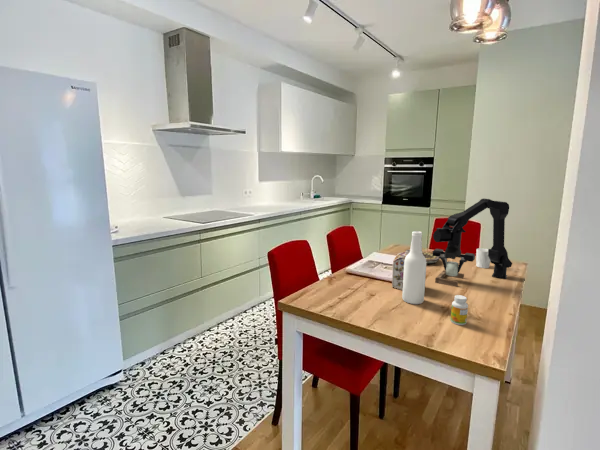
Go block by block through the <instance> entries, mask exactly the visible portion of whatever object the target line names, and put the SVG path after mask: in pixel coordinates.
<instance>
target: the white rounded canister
mask: <svg viewBox="0 0 600 450" xmlns="http://www.w3.org/2000/svg"><path fill="white" fill-rule="evenodd" d="M458 267H459V262H457V261H452V260H451V261H450V260H449V261H448V260H447V263H446V275H449V276H448V277H450V276H458Z"/></svg>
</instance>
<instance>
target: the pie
mask: <svg viewBox="0 0 600 450" xmlns="http://www.w3.org/2000/svg"><path fill="white" fill-rule="evenodd" d="M432 253H433V252H432ZM432 253H431V252H427V251H422V254H423V255H424V257H425V258H426V260H427V263H426V265H435V264H436V263H437V262H438V261H440V260H441V259H440V258H438V257H437V256H432Z"/></svg>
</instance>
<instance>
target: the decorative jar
mask: <svg viewBox="0 0 600 450" xmlns="http://www.w3.org/2000/svg"><path fill="white" fill-rule="evenodd" d="M409 252H410V249H406V250H405V251H404V252H399V253H397V254H396V255H395V257H394V259H393V260H392V261H393V262H392V277H391V288H392V287H394V288H393V289H396V288H397V289H396V290H400V291H403V275H404V260H405V257H406V256H407V255H408V254H409ZM426 263H427V260H426ZM426 277H427V276H426ZM426 277H425V280H427V279H426Z"/></svg>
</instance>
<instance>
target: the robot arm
mask: <svg viewBox="0 0 600 450" xmlns="http://www.w3.org/2000/svg"><path fill="white" fill-rule="evenodd" d="M486 209H489V213H490V215H491V218H492V221H493V222H492V223H493V227H492V229H493V230H492V246H491V247H490V248H487V249H488V256H489V259H490V264H493V265H494V266H493V272H492V274H491V277H493V278H497V279H503V280H506V279H507V278H508V274H507V270H508V269H509V268H511V267H512V265H513V262H512V261H511V259H510V258H509V255H508V251H507V249H506V246H505V225H506V224H505V220H506V218H507V217H508V215H509V212H510V211H509V210H510V205H509V203H508V202H507V201H500V200H493V199H490V198H481V199H479V200H478V202H475V203H474V204H473V205H470V206H469V207H468V208H466V209H465V210H462V211H461V212H459V213H458V212H457V213H453V214H452V215H449V216H448V218H447V220H446V222H445V223H444V224H443V226H442V228H441V227H436V230H435V231H433V234H432V237H433V241H434V242H435V243H446V242H447V246H446V248H445V251H444V249H441V248H435V249H434V250H433V251H432V256H437V257H438V258H440V259H439V260H441V262H442V264H443V268H444V271H446V263H447V262H448V259H451V260H455V259H456V258H458V259H459V261H458V263H459V267H458V273H460V271H461V270H462V267H463V265H464V263H467V262H471V263H472V262H474V261H476V254H475V253H470V252H466V253H462V250H461V244H462V243H461V241H462V234H463V233H466V232H467V231H466V230H465V229H464V228H463V227H465V226H466V225H467V224H468V222H469V220H471V219H472V218H474V217H475V216H477V215H478V214H480V213H482V212H483V211H485V210H486Z"/></svg>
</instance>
